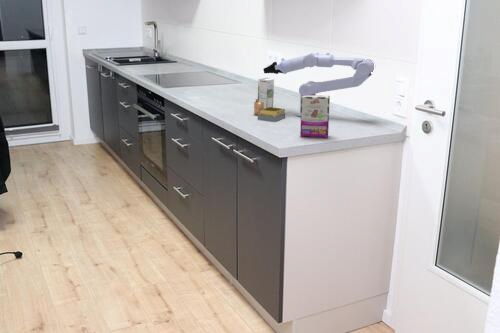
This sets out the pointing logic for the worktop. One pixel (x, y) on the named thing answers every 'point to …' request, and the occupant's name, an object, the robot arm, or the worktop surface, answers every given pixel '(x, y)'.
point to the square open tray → (271, 114)
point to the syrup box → (266, 91)
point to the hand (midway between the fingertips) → (267, 71)
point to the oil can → (258, 107)
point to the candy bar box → (314, 116)
